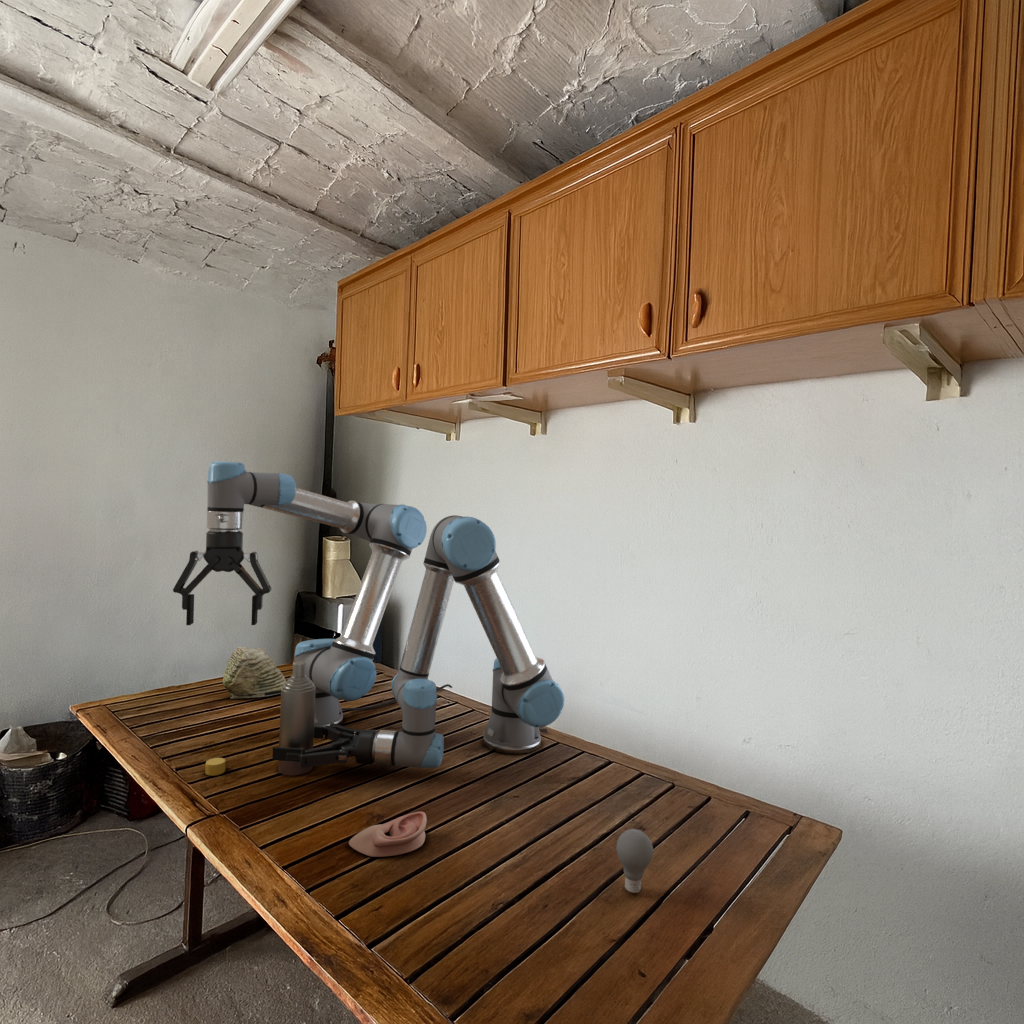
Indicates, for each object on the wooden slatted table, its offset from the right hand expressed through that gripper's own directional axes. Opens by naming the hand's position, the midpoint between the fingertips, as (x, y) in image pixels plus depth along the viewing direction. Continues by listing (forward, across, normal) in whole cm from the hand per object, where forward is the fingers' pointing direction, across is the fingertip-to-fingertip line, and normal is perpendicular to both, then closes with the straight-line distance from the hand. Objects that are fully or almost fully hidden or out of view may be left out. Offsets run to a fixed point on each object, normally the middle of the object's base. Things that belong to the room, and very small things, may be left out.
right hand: (285, 741), depth 147 cm
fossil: (+30, +50, -6) cm, 58 cm away
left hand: (+14, -4, +27) cm, 31 cm away
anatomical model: (-31, -28, -6) cm, 43 cm away
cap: (+14, -4, -4) cm, 15 cm away
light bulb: (-75, -38, -6) cm, 84 cm away
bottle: (-3, 0, -6) cm, 7 cm away
